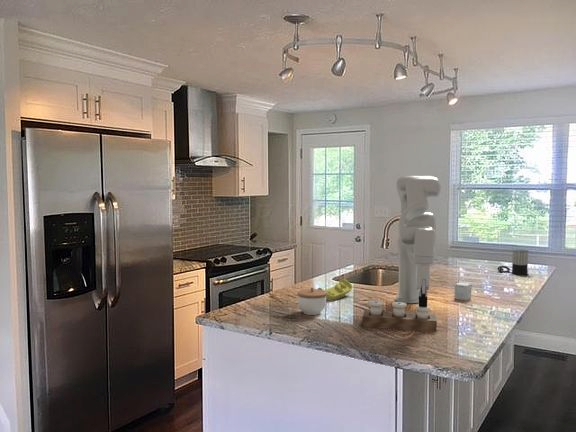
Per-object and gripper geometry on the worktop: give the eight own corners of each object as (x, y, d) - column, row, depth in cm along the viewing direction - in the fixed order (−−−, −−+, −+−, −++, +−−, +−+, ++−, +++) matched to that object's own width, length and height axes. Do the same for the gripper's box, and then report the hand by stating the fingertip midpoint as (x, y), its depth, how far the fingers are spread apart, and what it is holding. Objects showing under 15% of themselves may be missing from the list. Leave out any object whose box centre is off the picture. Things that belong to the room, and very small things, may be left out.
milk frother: (530, 275, 296) (531, 251, 295) (504, 275, 296) (505, 251, 295) (520, 271, 310) (520, 248, 309) (495, 271, 310) (495, 248, 309)
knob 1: (378, 312, 198) (378, 299, 198) (385, 316, 193) (385, 302, 192) (366, 314, 196) (366, 300, 196) (373, 317, 191) (373, 304, 190)
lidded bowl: (317, 318, 202) (318, 292, 202) (292, 314, 209) (292, 288, 208) (331, 311, 213) (331, 286, 212) (306, 307, 220) (306, 283, 219)
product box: (453, 298, 236) (454, 283, 236) (459, 296, 241) (459, 282, 240) (466, 300, 232) (466, 285, 232) (471, 298, 237) (471, 283, 236)
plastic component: (332, 297, 230) (317, 285, 236) (327, 309, 233) (312, 297, 239) (356, 287, 244) (341, 276, 250) (351, 299, 247) (337, 288, 253)
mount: (362, 326, 191) (362, 316, 191) (364, 319, 201) (364, 309, 200) (436, 331, 184) (436, 321, 184) (434, 324, 194) (435, 314, 194)
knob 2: (401, 314, 196) (401, 301, 196) (409, 317, 191) (409, 304, 190) (389, 315, 194) (389, 302, 194) (396, 319, 189) (397, 305, 188)
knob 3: (424, 317, 194) (424, 304, 194) (433, 321, 189) (433, 307, 188) (412, 318, 192) (412, 305, 192) (420, 322, 187) (421, 308, 186)
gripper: (413, 256, 197) (412, 301, 198) (414, 262, 182) (413, 310, 183) (432, 257, 195) (431, 302, 196) (434, 263, 180) (434, 311, 182)
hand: (422, 306), depth 190 cm, fingers closed
